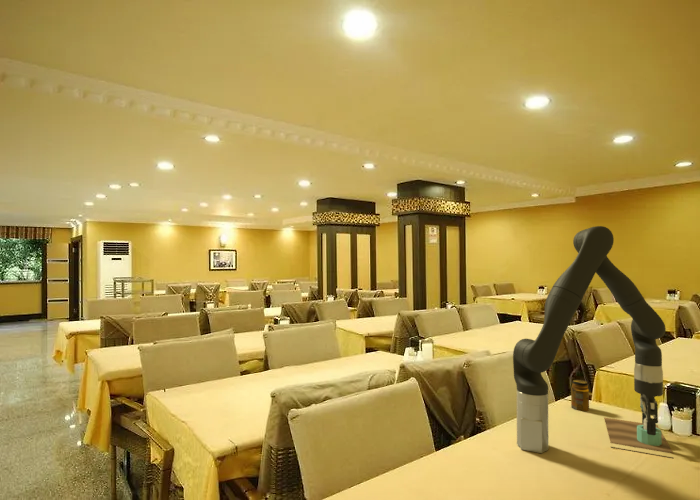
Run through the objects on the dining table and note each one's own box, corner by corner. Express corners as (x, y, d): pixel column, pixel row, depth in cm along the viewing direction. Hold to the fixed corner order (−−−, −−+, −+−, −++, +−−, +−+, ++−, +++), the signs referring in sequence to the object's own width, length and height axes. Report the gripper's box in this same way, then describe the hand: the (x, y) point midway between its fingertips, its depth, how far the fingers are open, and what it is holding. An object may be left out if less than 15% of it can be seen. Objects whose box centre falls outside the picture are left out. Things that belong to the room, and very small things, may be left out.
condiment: (593, 413, 163) (593, 382, 163) (582, 418, 158) (582, 385, 158) (575, 407, 169) (574, 377, 169) (563, 412, 164) (563, 380, 164)
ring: (663, 447, 130) (662, 434, 130) (638, 443, 133) (638, 430, 133) (659, 439, 136) (658, 426, 136) (635, 435, 138) (635, 423, 138)
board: (673, 458, 126) (673, 428, 126) (610, 447, 133) (610, 419, 133) (657, 429, 147) (657, 403, 147) (604, 421, 154) (603, 396, 155)
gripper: (631, 371, 143) (631, 419, 142) (637, 382, 130) (638, 435, 130) (658, 374, 139) (658, 424, 139) (667, 385, 127) (668, 440, 126)
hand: (648, 429), depth 134 cm, fingers open, 8 cm apart
